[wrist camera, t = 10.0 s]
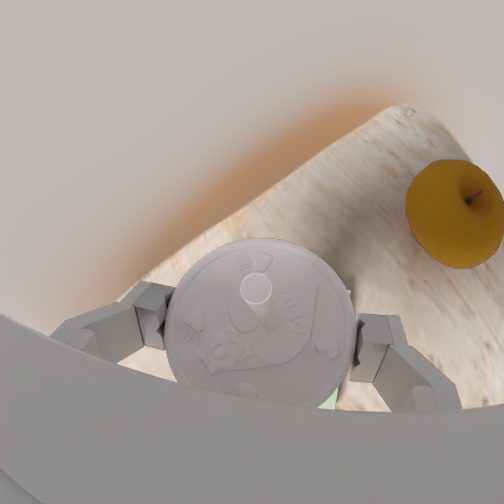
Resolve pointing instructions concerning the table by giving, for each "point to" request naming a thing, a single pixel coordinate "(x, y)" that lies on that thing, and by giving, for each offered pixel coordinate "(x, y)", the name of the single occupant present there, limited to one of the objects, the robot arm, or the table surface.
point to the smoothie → (262, 324)
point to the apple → (456, 213)
